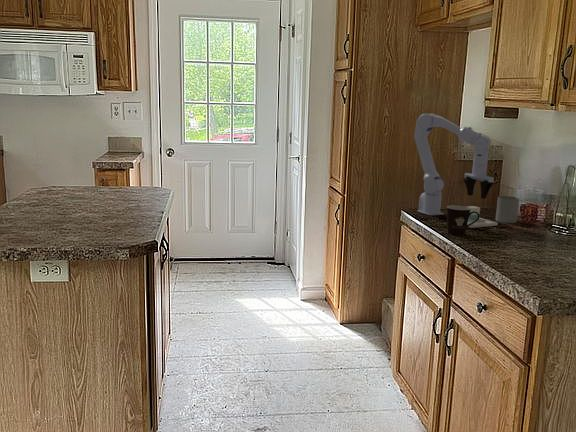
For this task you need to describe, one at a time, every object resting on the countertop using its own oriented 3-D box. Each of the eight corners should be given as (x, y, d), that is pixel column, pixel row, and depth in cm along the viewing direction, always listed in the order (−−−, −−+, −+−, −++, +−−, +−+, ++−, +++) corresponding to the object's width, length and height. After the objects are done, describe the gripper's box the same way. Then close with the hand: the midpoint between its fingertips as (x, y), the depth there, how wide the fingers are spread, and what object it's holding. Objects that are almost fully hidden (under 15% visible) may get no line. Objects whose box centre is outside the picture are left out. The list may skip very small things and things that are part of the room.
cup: (517, 223, 236) (520, 200, 234) (497, 222, 237) (499, 198, 235) (514, 219, 244) (516, 196, 242) (494, 218, 246) (496, 195, 244)
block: (464, 219, 234) (465, 206, 233) (471, 218, 236) (473, 206, 235) (471, 221, 231) (472, 208, 230) (478, 220, 233) (480, 207, 232)
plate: (447, 220, 237) (447, 215, 237) (472, 218, 243) (473, 213, 243) (471, 227, 225) (471, 222, 224) (497, 225, 231) (497, 220, 230)
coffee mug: (442, 234, 212) (444, 208, 210) (447, 229, 220) (449, 204, 218) (474, 238, 207) (476, 211, 205) (478, 233, 215) (480, 208, 213)
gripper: (460, 163, 240) (457, 194, 243) (486, 167, 228) (482, 200, 231) (472, 162, 244) (469, 193, 246) (498, 166, 231) (495, 199, 234)
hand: (476, 196), depth 239 cm, fingers open, 7 cm apart
